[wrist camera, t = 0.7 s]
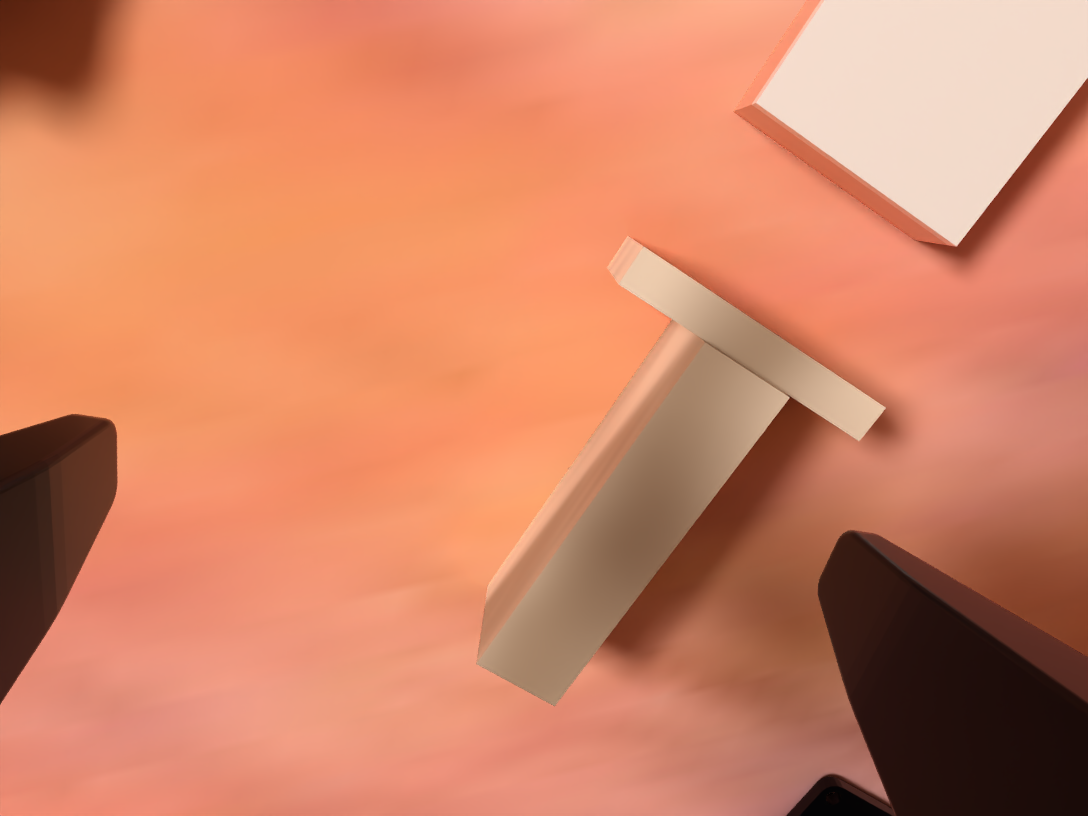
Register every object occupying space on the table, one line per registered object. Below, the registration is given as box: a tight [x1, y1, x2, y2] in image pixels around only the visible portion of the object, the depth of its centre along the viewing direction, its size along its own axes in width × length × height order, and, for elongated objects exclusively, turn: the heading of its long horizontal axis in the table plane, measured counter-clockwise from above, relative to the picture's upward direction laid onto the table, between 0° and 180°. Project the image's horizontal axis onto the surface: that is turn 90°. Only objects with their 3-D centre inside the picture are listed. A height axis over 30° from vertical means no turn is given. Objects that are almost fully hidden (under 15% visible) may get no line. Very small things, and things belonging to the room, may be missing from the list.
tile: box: [733, 0, 1088, 247], centre depth 18 cm, size 6×6×2 cm
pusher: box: [476, 236, 886, 706], centre depth 20 cm, size 7×11×4 cm, turn 147°
